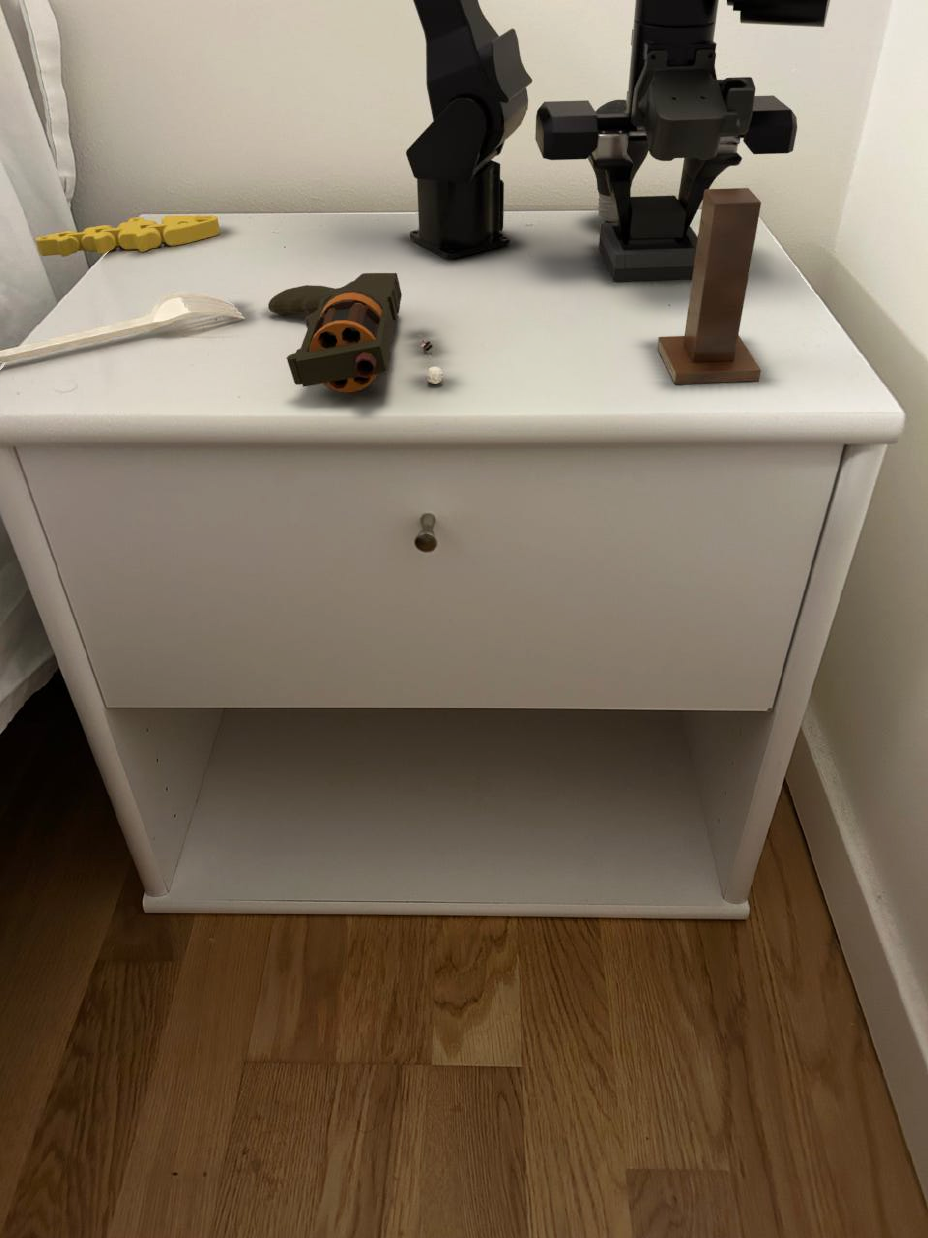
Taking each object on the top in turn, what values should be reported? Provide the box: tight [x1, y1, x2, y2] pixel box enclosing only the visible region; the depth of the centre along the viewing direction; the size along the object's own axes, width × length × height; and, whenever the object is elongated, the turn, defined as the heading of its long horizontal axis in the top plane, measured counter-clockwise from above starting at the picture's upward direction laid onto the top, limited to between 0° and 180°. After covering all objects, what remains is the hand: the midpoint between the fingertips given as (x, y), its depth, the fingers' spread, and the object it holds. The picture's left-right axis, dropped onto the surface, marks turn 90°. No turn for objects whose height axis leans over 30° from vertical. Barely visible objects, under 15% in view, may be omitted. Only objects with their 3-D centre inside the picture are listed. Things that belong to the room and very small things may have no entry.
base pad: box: [598, 222, 698, 283], centre depth 82 cm, size 7×7×2 cm
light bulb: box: [591, 99, 649, 223], centre depth 87 cm, size 6×6×10 cm
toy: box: [35, 214, 221, 258], centre depth 87 cm, size 15×1×5 cm
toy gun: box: [267, 272, 403, 393], centre depth 69 cm, size 5×17×10 cm
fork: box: [0, 291, 246, 364], centre depth 71 cm, size 3×20×2 cm, turn 120°
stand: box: [656, 187, 762, 385], centre depth 65 cm, size 6×6×11 cm
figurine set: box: [417, 332, 444, 385], centre depth 69 cm, size 1×8×1 cm
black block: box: [630, 195, 686, 239], centre depth 80 cm, size 4×4×2 cm
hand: (651, 242), depth 81 cm, fingers closed on black block, 4 cm apart
